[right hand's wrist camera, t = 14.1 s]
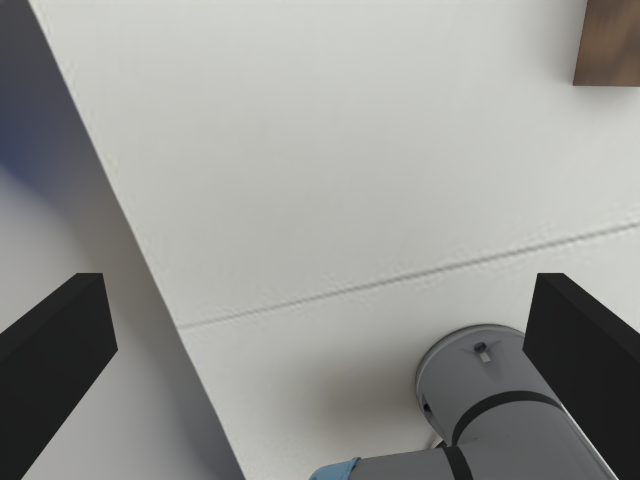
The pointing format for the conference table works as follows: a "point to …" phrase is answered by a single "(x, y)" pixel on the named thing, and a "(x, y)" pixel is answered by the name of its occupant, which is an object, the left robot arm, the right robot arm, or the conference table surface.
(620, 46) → the box
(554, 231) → the conference table surface
